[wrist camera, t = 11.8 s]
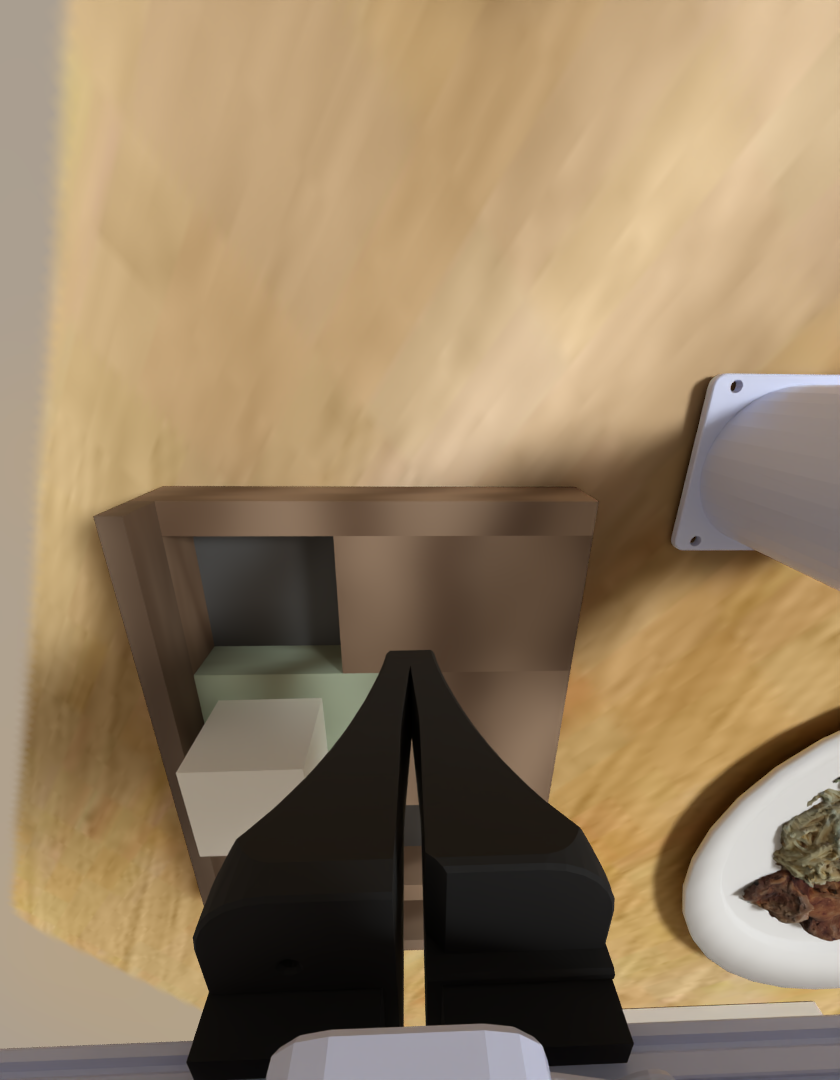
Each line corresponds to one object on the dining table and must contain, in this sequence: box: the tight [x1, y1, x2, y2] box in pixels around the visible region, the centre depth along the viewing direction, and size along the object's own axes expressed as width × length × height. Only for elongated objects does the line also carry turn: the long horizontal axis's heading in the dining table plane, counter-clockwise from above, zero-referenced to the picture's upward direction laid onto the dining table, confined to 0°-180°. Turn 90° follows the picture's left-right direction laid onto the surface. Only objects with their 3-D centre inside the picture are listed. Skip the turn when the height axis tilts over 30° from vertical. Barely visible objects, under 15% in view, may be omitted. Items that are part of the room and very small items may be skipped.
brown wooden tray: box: [93, 486, 599, 950], centre depth 22 cm, size 19×27×4 cm
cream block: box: [176, 698, 328, 857], centre depth 19 cm, size 5×5×4 cm
